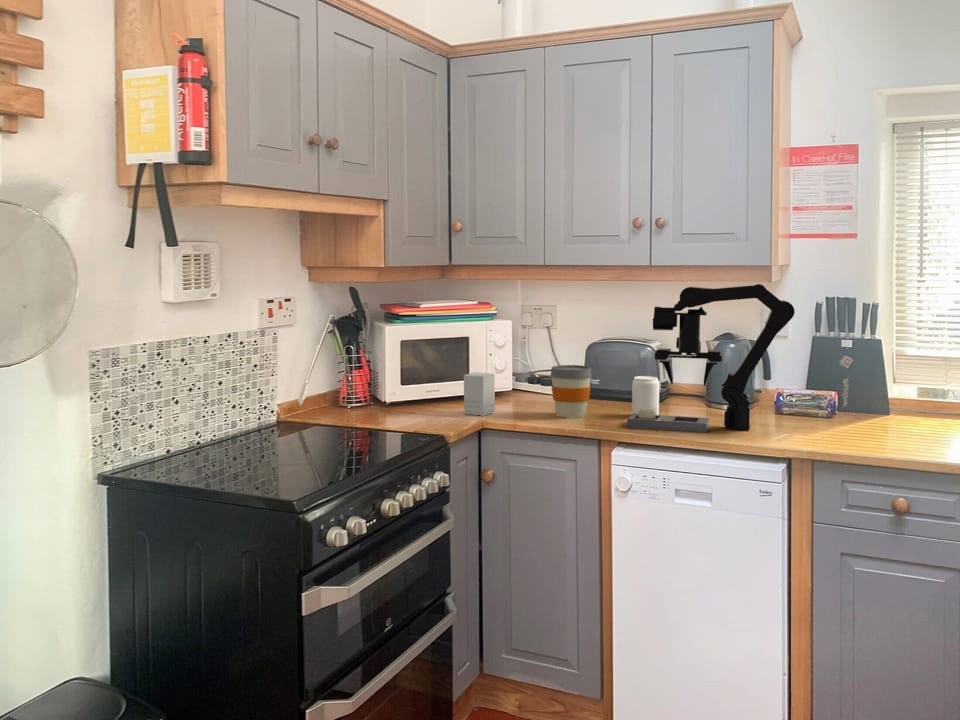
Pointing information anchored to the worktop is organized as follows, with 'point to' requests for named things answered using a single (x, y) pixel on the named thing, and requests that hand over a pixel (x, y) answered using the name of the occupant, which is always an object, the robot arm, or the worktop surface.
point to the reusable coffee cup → (571, 389)
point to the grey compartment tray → (670, 423)
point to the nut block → (647, 413)
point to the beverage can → (645, 393)
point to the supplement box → (479, 393)
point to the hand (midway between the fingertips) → (688, 384)
